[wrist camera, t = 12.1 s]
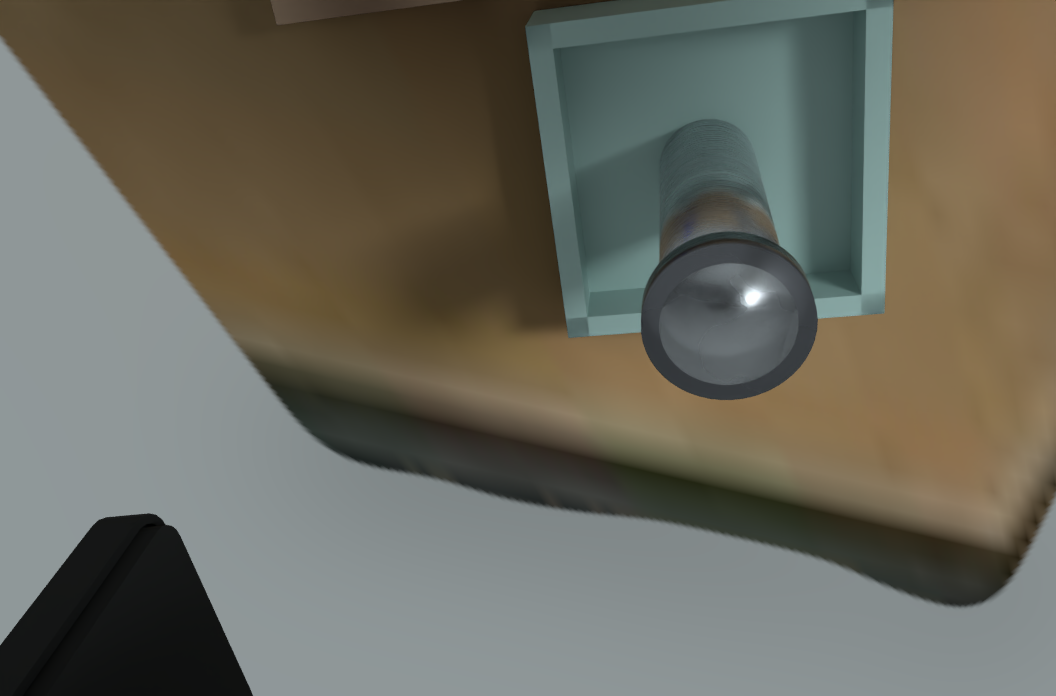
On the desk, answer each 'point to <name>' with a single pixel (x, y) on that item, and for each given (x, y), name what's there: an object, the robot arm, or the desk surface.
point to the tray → (725, 94)
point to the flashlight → (722, 273)
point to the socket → (337, 8)
